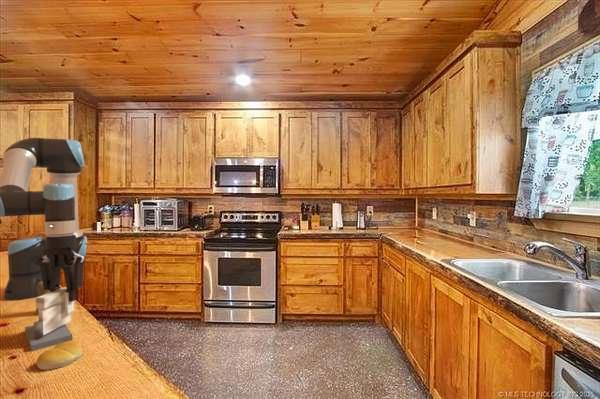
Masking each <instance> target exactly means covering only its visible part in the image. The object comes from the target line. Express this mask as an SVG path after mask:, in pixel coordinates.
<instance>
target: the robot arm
mask: <svg viewBox="0 0 600 399" xmlns="http://www.w3.org/2000/svg"><path fill="white" fill-rule="evenodd" d="M82 150H83V149H82V145H81V142H79V140H75V139H69V138H67V139H66V138H49V137H48V138H44V137H28V138H23V139H21V140H17V141H16V142H14V143H13V144H11V145H9V146H8V147H7V148H6V149H5V150H4V152H3V155H2V163H3V168H2V170H1V173H0V218H4V217H18V216H19V217H20V216H21V217H22V216H41V215H44V234H45V236H46V237H45V236H43V235H41V236H32V237H26V238H22V239H17V240H14V241H12V242H9V243H8V246H7V260H8V264H7V265H8V279H7V282H6V286H5V289H4V291H3V299H4V300H7V301H17V300H26V299H31V298H37V297H38V291H37V290H36V285H37V284H38V283H39V282H41V281H43V288H44V290H50V292H53V291H55V290H58V289H61V288H62V287H61V286H60V285H61V276H62V270H63V276H64V280H65V287H67V290H66V292H65V314H68V313H70V312H71V313H72V312H74V311H75V301H76V300H77V291H76V290H77V289H79V288H81V287H83V282H84V279H83V278H84V263H85V261H86V258H87V256H86V254H87V247H88V245H87V244H88V237H87V236H85V235H84V232H83V231H81V230H80V227H79V226H80V223H79V199H78V197H79V196H78V193H79V192H78V176H79V175H80V174H81V173H82V169H85V168H86V166H85V159H84V155H83V151H82ZM34 168H46V173H47V174H49V175H50V176H51V183H46V184H45V185H43V190H36V191H33V190H29V186H30V182H31V181H30V180H31V175H32V170H33V169H34Z"/></svg>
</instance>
